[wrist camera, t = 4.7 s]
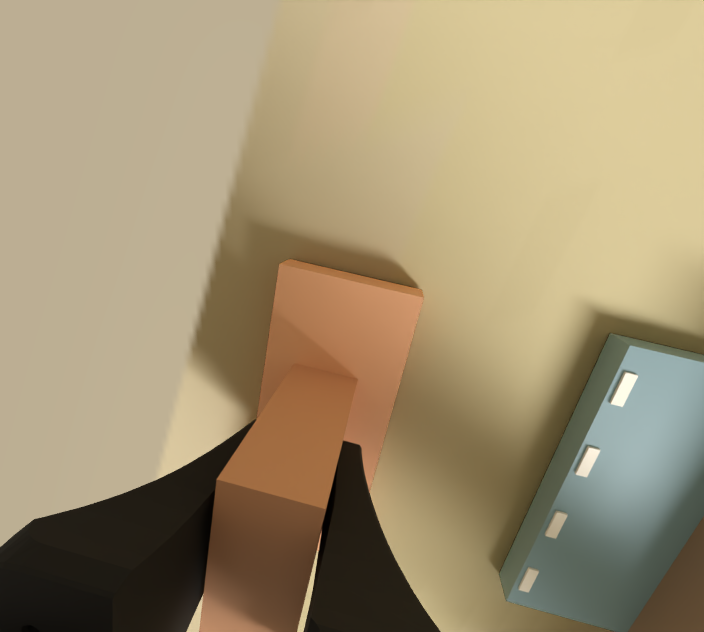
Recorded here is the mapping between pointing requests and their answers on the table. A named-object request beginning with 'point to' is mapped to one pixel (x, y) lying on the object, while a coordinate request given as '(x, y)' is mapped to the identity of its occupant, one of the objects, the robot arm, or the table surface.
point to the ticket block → (622, 500)
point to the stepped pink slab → (303, 438)
